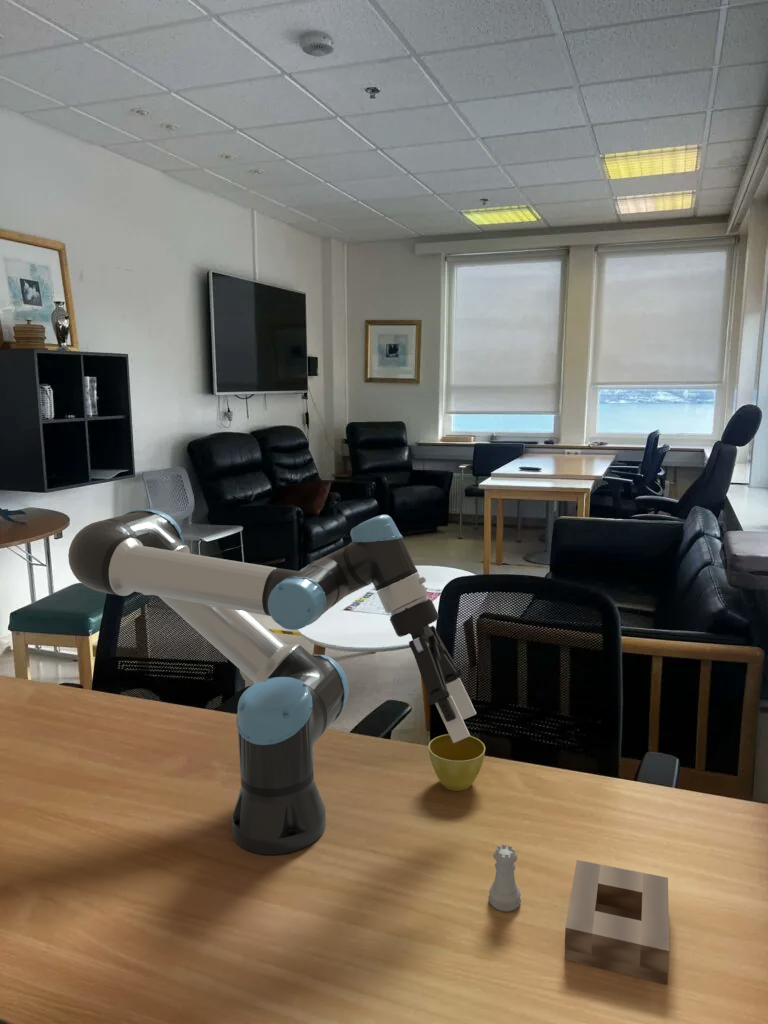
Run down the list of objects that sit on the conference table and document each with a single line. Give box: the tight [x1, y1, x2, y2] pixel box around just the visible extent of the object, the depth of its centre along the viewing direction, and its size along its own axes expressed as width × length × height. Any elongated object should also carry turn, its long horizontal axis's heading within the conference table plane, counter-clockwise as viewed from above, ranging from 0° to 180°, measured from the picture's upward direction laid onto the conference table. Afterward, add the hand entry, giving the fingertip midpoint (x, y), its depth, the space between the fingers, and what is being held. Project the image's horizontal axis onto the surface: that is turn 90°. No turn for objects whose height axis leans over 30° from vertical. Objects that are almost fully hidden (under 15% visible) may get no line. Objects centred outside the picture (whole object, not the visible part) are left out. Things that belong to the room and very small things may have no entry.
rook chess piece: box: [488, 843, 522, 913], centre depth 103 cm, size 4×4×8 cm
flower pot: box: [427, 733, 486, 792], centre depth 133 cm, size 10×10×7 cm
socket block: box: [563, 859, 670, 985], centre depth 97 cm, size 12×14×4 cm
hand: (465, 727), depth 119 cm, fingers open, 13 cm apart
